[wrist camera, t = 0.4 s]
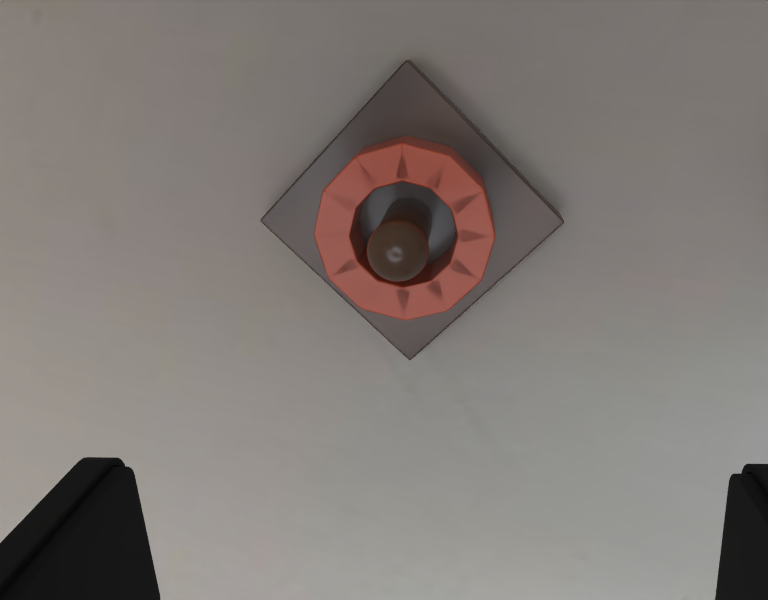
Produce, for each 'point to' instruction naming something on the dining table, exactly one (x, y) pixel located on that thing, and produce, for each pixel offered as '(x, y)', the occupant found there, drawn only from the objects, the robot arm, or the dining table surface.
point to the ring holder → (415, 202)
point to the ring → (436, 281)
